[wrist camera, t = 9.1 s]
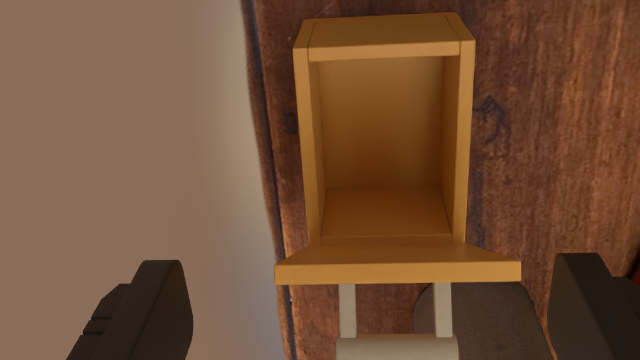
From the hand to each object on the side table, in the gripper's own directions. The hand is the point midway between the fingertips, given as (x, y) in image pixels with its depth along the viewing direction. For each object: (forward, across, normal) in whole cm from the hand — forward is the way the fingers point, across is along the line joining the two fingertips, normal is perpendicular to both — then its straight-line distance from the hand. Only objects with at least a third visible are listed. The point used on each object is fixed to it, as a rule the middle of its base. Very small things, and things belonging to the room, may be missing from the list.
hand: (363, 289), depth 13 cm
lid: (+15, -1, +9) cm, 17 cm away
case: (+28, -1, +7) cm, 29 cm away
